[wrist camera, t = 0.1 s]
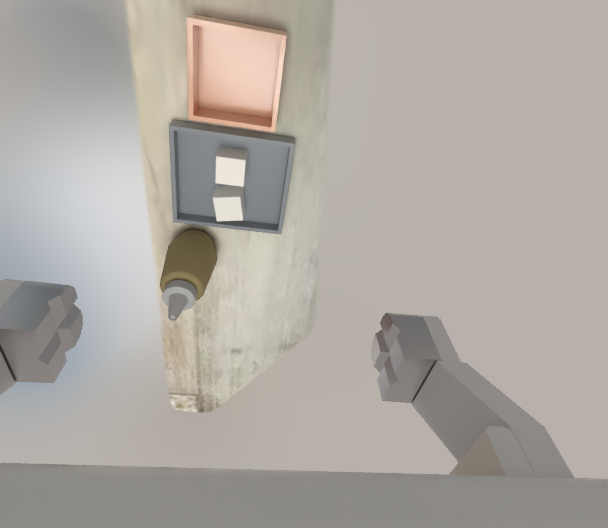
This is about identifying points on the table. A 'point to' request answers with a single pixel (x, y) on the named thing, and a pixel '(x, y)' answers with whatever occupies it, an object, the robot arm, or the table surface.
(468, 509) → the robot arm
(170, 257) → the squeeze bottle
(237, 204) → the block
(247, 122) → the bin
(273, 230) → the tray
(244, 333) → the table surface
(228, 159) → the white cube
